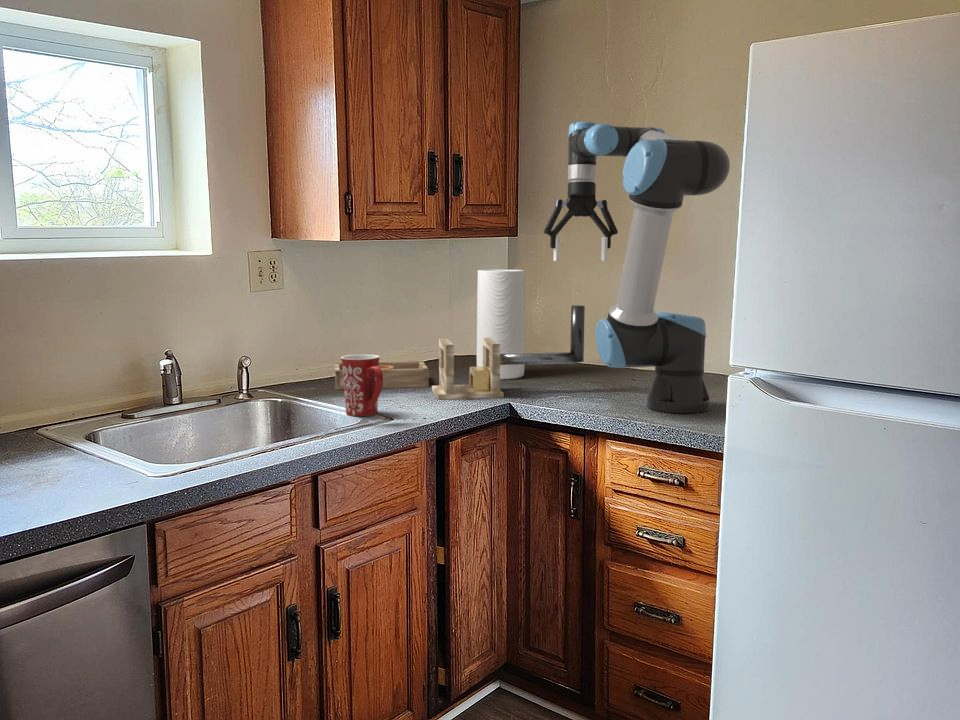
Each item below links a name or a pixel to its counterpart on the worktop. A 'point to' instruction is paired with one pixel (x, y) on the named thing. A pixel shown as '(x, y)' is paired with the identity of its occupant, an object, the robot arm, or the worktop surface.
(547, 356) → the shaft
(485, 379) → the block
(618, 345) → the robot arm
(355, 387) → the mug
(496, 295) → the paper towel roll
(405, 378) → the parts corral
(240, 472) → the worktop surface
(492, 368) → the jig
